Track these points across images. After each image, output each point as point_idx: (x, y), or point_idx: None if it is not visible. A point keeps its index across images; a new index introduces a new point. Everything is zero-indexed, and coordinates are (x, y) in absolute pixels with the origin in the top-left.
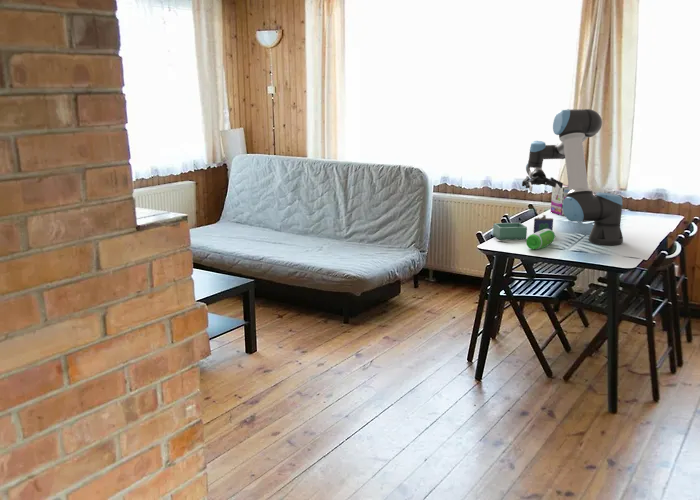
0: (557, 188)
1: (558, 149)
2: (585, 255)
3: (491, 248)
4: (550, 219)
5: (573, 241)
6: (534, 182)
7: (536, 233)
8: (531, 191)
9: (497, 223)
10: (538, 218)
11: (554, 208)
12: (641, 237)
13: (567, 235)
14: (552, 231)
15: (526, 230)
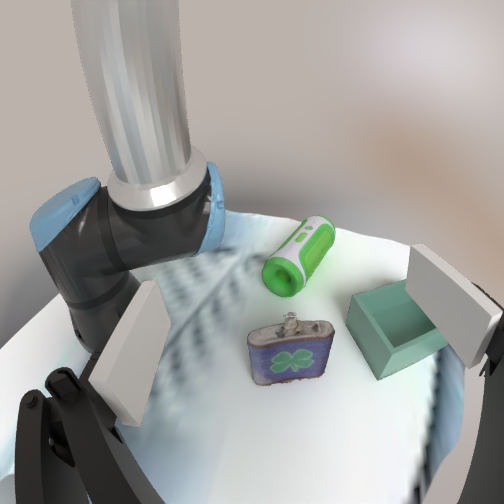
0: (151, 326)
1: None
2: None
3: (399, 244)
4: (262, 328)
5: (199, 321)
6: (470, 498)
7: (314, 218)
8: (407, 287)
9: None
10: (317, 322)
11: None
12: (21, 356)
13: (190, 394)
14: (270, 257)
15: (351, 303)
